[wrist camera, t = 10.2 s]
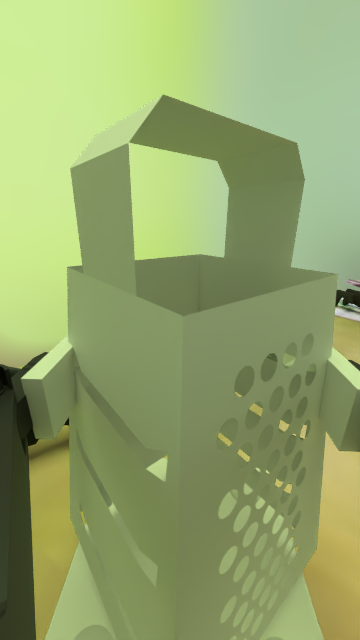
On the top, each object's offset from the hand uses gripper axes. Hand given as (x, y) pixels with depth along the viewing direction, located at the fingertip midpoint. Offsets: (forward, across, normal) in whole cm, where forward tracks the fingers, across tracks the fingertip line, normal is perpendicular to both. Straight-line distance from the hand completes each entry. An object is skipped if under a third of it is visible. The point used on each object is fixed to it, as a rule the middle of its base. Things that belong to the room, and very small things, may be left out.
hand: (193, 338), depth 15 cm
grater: (-4, 0, -11) cm, 12 cm away
